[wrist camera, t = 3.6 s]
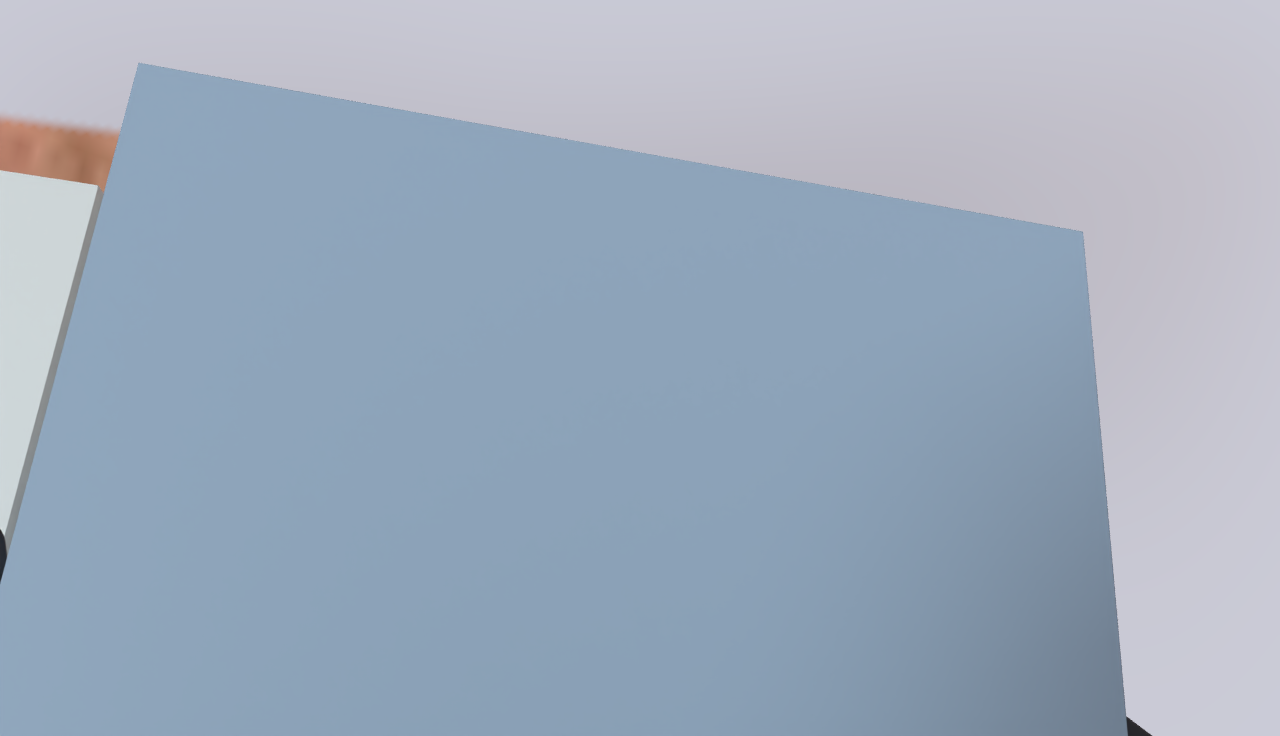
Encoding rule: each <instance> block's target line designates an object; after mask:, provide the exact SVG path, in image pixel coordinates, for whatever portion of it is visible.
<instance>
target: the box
mask: <svg viewBox="0 0 1280 736" xmlns="http://www.w3.org/2000/svg"><path fill="white" fill-rule="evenodd" d="M1117 621H1118V620H1117V610H1116V598H1115V587H1114V575H1113V564H1112V554H1111V542H1110V531H1109V520H1108V508H1107V497H1106V485H1105V475H1104V463H1103V452H1102V440H1101V429H1100V418H1099V407H1098V395H1097V385H1096V373H1095V363H1094V350H1093V339H1092V328H1091V317H1090V306H1089V294H1088V283H1087V272H1086V262H1085V249H1084V239H1083V232H1081V231H1076V230H1071V229H1065V228H1060V227H1054V226H1048V225H1042V224H1037V223H1032V222H1026V221H1020V220H1015V219H1009V218H1004V217H998V216H992V215H987V214H981V213H976V212H970V211H964V210H959V209H953V208H948V207H942V206H936V205H931V204H925V203H920V202H914V201H909V200H903V199H897V198H891V197H886V196H881V195H875V194H869V193H864V192H858V191H852V190H847V189H841V188H836V187H830V186H825V185H819V184H813V183H807V182H802V181H796V180H791V179H785V178H780V177H774V176H768V175H763V174H757V173H752V172H746V171H741V170H734V169H730V168H724V167H718V166H712V165H707V164H701V163H696V162H690V161H684V160H679V159H673V158H668V157H662V156H657V155H651V154H646V153H640V152H634V151H629V150H623V149H617V148H612V147H606V146H600V145H595V144H589V143H584V142H578V141H573V140H567V139H561V138H555V137H550V136H545V135H539V134H534V133H528V132H523V131H517V130H511V129H505V128H500V127H494V126H489V125H483V124H477V123H472V122H466V121H461V120H455V119H450V118H444V117H439V116H433V115H428V114H422V113H416V112H410V111H405V110H399V109H393V108H388V107H383V106H377V105H372V104H366V103H360V102H354V101H349V100H344V99H338V98H332V97H327V96H321V95H316V94H309V93H304V92H299V91H293V90H288V89H282V88H276V87H271V86H265V85H260V84H254V83H248V82H243V81H237V80H232V79H226V78H221V77H215V76H209V75H203V74H198V73H192V72H187V71H181V70H175V69H170V68H164V67H159V66H153V65H148V64H142V63H138V67H137V71H136V75H135V78H134V82H133V86H132V90H131V93H130V97H129V102H128V105H127V109H126V113H125V116H124V120H123V123H122V127H121V131H120V135H119V139H118V142H117V146H116V150H115V154H114V157H113V161H112V165H111V169H110V172H109V176H108V180H107V184H106V187H105V191H104V195H103V199H102V203H101V206H100V210H99V214H98V218H97V221H96V225H95V229H94V233H93V236H92V240H91V244H90V248H89V251H88V255H87V259H86V263H85V267H84V270H83V274H82V278H81V282H80V285H79V289H78V293H77V297H76V300H75V304H74V308H73V312H72V315H71V319H70V323H69V327H68V330H67V334H66V338H65V342H64V346H63V349H62V353H61V357H60V361H59V364H58V368H57V372H56V376H55V379H54V383H53V387H52V391H51V394H50V398H49V402H48V406H47V410H46V413H45V417H44V421H43V425H42V428H41V432H40V436H39V440H38V443H37V447H36V451H35V455H34V458H33V462H32V466H31V470H30V474H29V477H28V481H27V485H26V489H25V492H24V496H23V500H22V504H21V507H20V511H19V515H18V519H17V522H16V526H15V530H14V534H13V538H12V541H11V545H10V549H9V553H8V556H7V560H6V564H5V568H4V571H3V575H2V579H1V583H0V736H1128V733H1127V721H1126V711H1125V699H1124V688H1123V677H1122V665H1121V654H1120V643H1119V631H1118V622H1117Z"/></svg>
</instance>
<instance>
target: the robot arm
mask: <svg viewBox="0 0 1280 736" xmlns="http://www.w3.org/2000/svg"><path fill="white" fill-rule="evenodd" d="M6 560H7V550H6V542H5V537H4V534H3V533H2V531H1V529H0V583H1V579H2V575H3V571H4V568H5V564H6ZM1126 721H1127V733H1128V736H1152V735H1150V734H1149V733H1148V732H1146V731H1145V730H1144V729H1142V728H1141V727H1140V726H1138V725H1137V724H1136V723H1134V722H1133V721H1132V720H1130V719H1129V718H1128V717H1126Z"/></svg>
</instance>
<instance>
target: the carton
mask: <svg viewBox="0 0 1280 736" xmlns="http://www.w3.org/2000/svg"><path fill="white" fill-rule="evenodd" d="M103 195H104V194H103V192H102V190H101V189H100V187H99V186H98V185H91V184H85V183H78V182H72V181H65V180H59V179H52V178H46V177H39V176H33V175H26V174H20V173H13V172H7V171H0V529H1V531H2V533H3V534H4V537H5V542H6V550H7V556H8V553H9V549H10V545H11V541H12V538H13V534H14V530H15V526H16V522H17V519H18V515H19V511H20V507H21V504H22V500H23V496H24V492H25V489H26V485H27V481H28V477H29V474H30V470H31V466H32V462H33V458H34V455H35V451H36V447H37V443H38V440H39V436H40V432H41V428H42V425H43V421H44V417H45V413H46V410H47V406H48V402H49V398H50V394H51V391H52V387H53V383H54V379H55V376H56V372H57V368H58V364H59V361H60V357H61V353H62V349H63V346H64V342H65V338H66V334H67V330H68V327H69V323H70V319H71V315H72V312H73V308H74V304H75V300H76V297H77V293H78V289H79V285H80V282H81V278H82V274H83V270H84V267H85V263H86V259H87V255H88V251H89V248H90V244H91V240H92V236H93V233H94V229H95V225H96V221H97V218H98V214H99V210H100V206H101V203H102V199H103Z"/></svg>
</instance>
